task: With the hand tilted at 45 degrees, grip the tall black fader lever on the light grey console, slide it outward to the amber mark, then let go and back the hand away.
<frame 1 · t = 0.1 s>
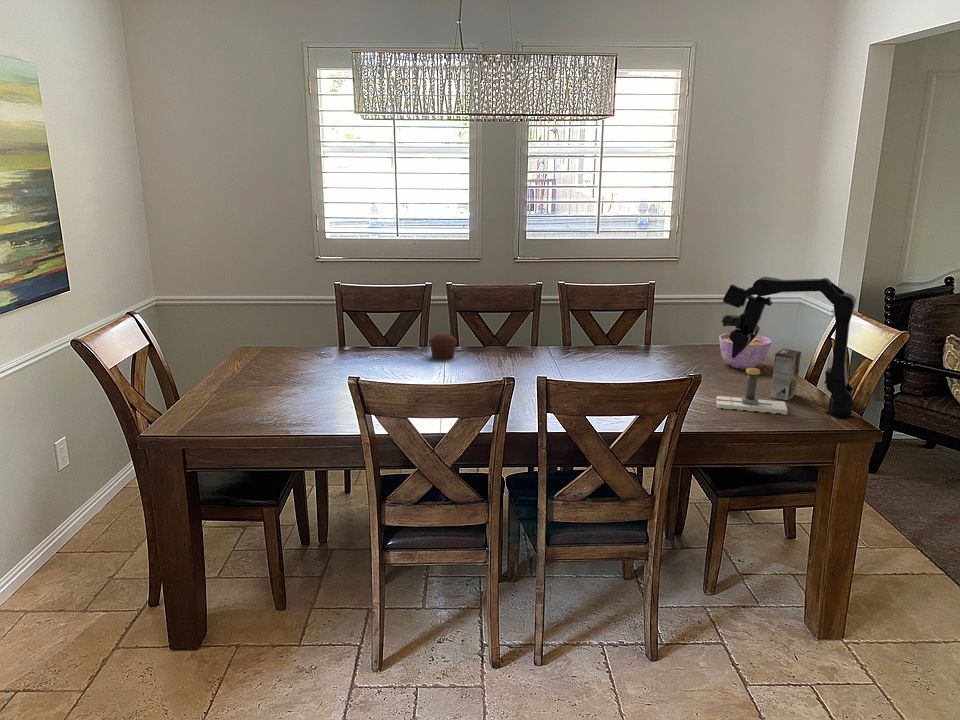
hand: (736, 354, 253), 15 cm above the table, tool pointing down, fingers open, 9 cm apart
fader lever: (751, 385, 245), point 7 cm above the table, slide at 0.0 cm
fader console: (750, 407, 247), on the table
coffee box: (782, 396, 259), on the table
muffin: (443, 357, 307), on the table
bowl of food: (742, 367, 296), on the table
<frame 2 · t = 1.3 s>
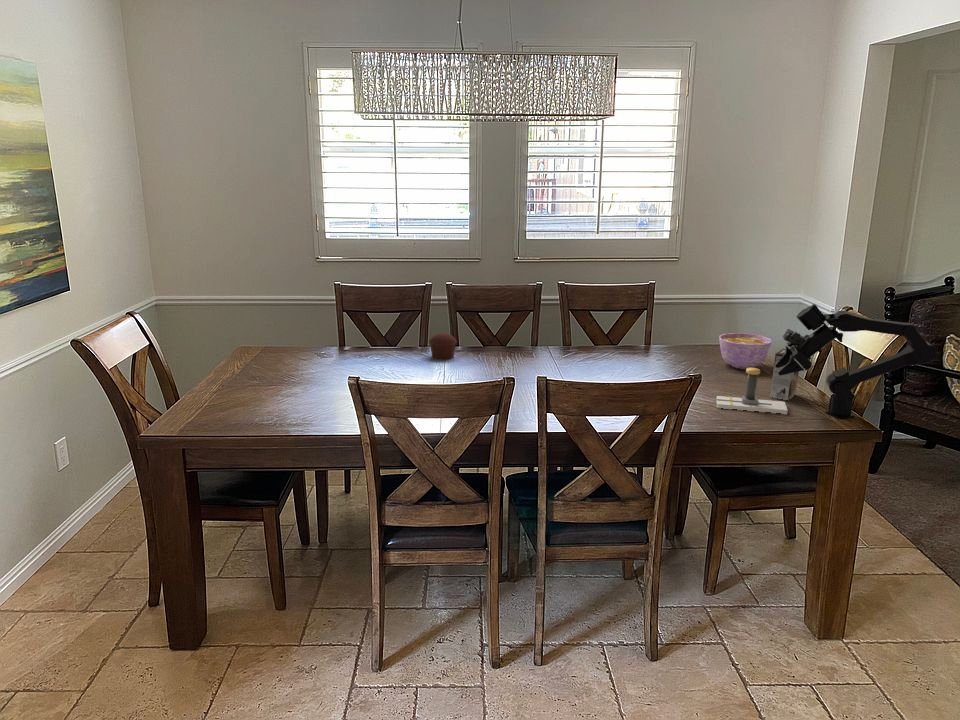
hand: (777, 370, 242), 13 cm above the table, tool tilted 45°, fingers open, 9 cm apart
nothing on the table moved.
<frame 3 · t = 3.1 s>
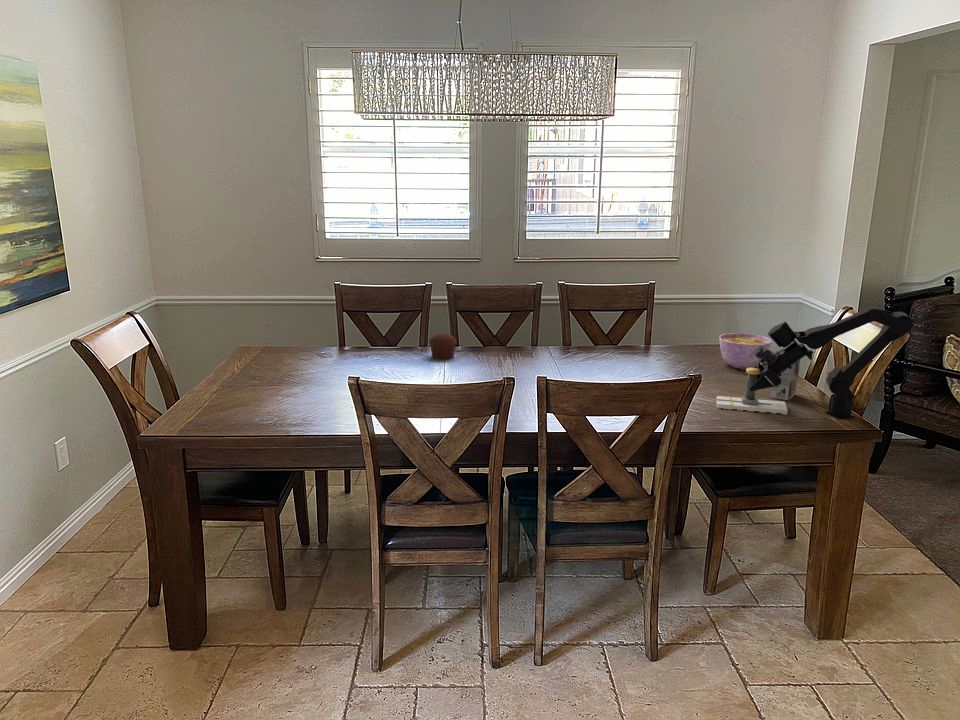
hand: (748, 386, 246), 7 cm above the table, tool tilted 45°, fingers open, 9 cm apart
nothing on the table moved.
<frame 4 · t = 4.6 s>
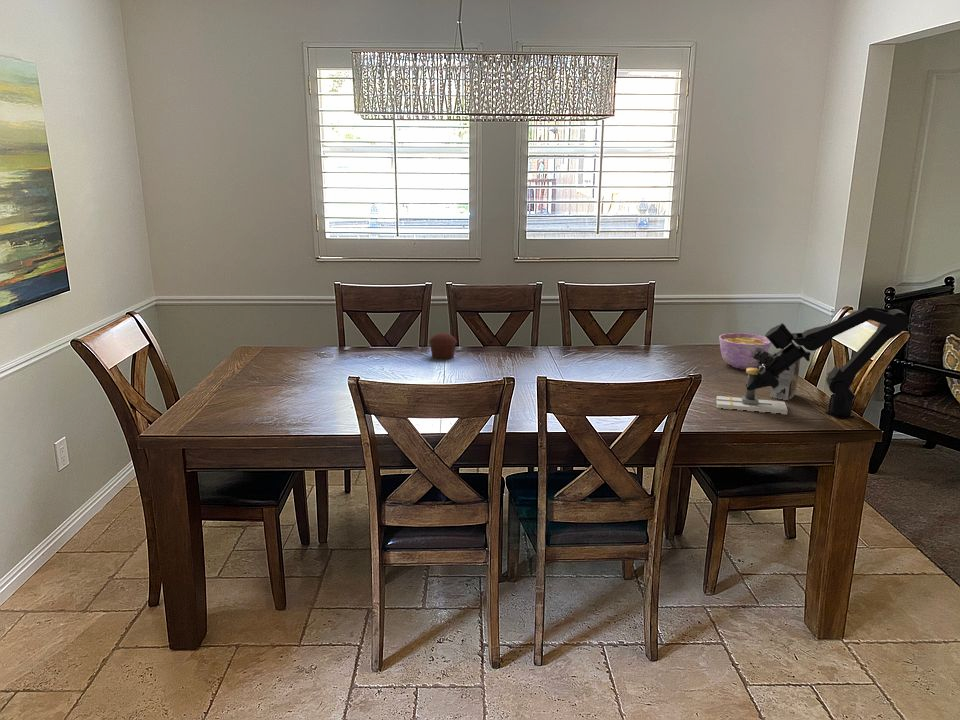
hand: (746, 387, 246), 7 cm above the table, tool tilted 45°, fingers closed on fader lever, 3 cm apart
fader lever: (751, 385, 245), point 7 cm above the table, slide at 0.0 cm, touching gripper
everything else where it was.
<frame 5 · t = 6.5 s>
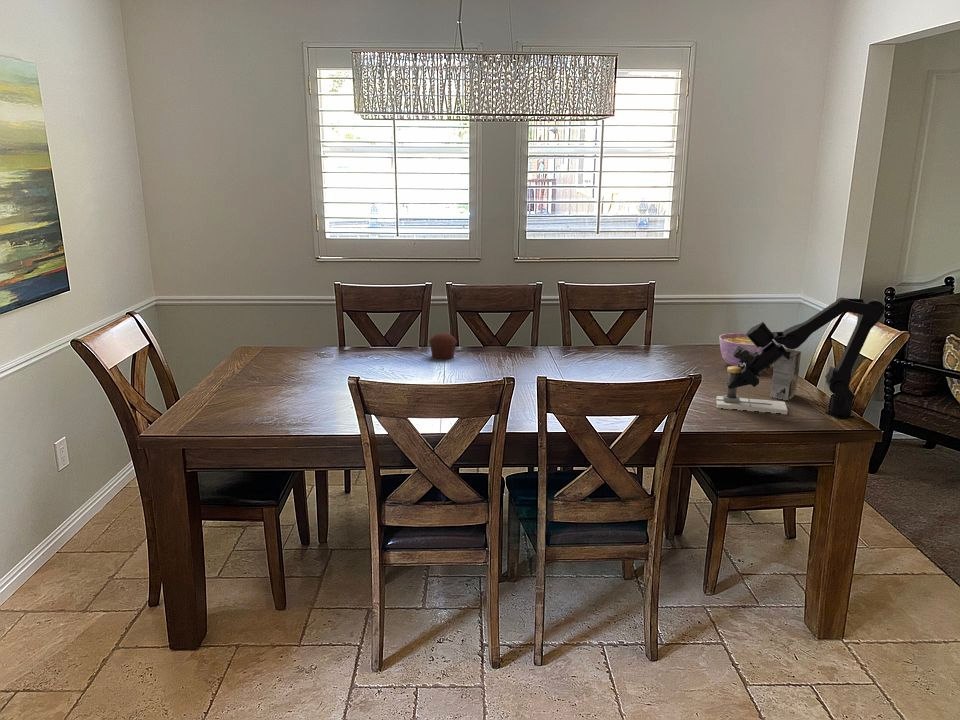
hand: (728, 386, 248), 7 cm above the table, tool tilted 45°, fingers closed on fader lever, 3 cm apart
fader lever: (732, 384, 247), point 7 cm above the table, slide at 6.0 cm, touching gripper
everything else where it was.
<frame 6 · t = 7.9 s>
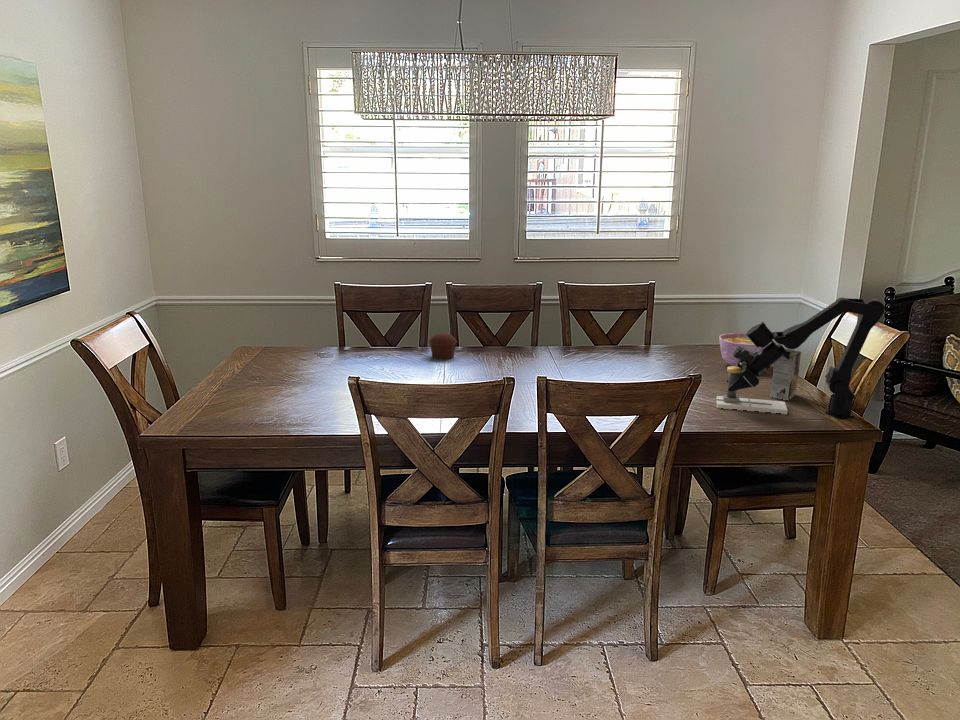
hand: (728, 386, 248), 7 cm above the table, tool tilted 45°, fingers open, 9 cm apart
fader lever: (732, 384, 247), point 7 cm above the table, slide at 6.0 cm
everything else where it was.
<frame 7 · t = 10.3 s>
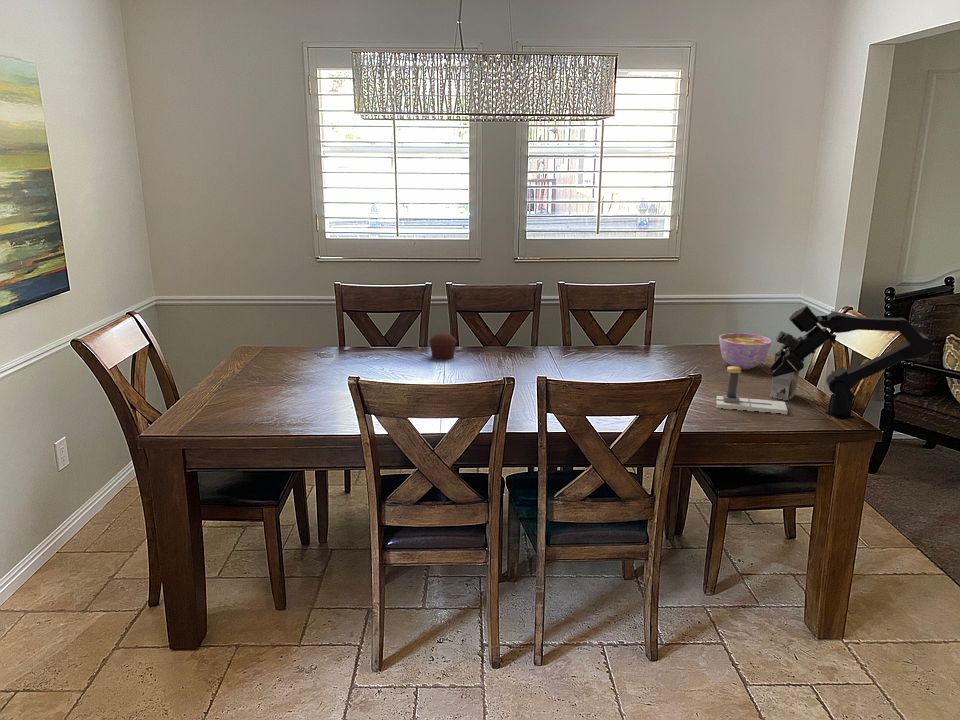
hand: (771, 372, 243), 12 cm above the table, tool tilted 45°, fingers open, 9 cm apart
nothing on the table moved.
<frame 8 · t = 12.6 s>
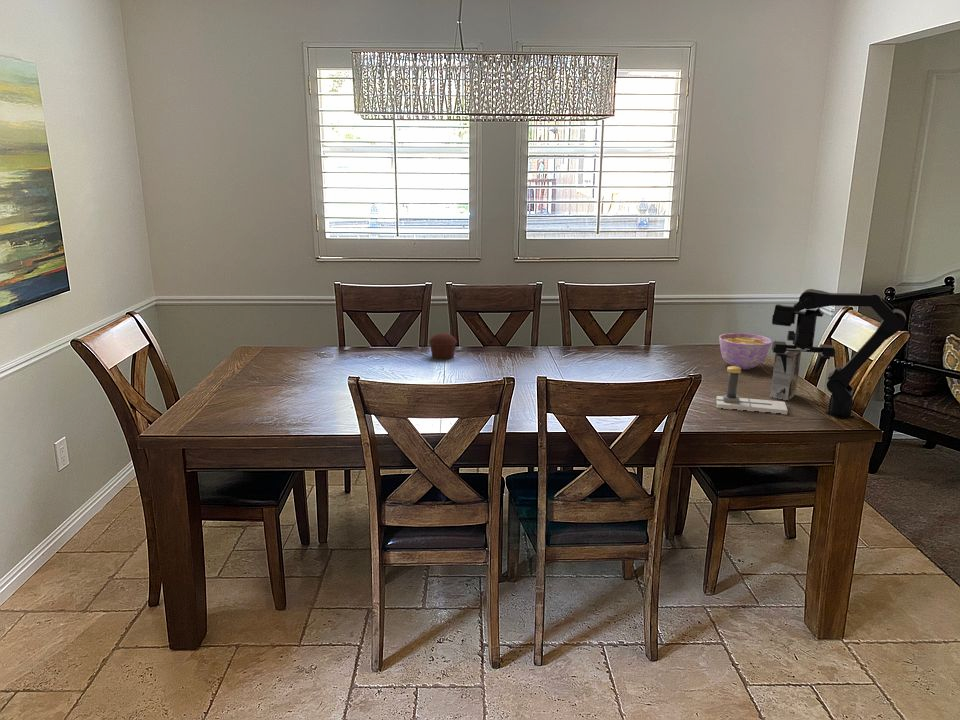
hand: (799, 373, 243), 12 cm above the table, tool pointing down, fingers open, 9 cm apart
nothing on the table moved.
at the end: fader lever slide at 6.0 cm; the gripper is holding nothing; coffee box moved 0.2 cm from its start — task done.
